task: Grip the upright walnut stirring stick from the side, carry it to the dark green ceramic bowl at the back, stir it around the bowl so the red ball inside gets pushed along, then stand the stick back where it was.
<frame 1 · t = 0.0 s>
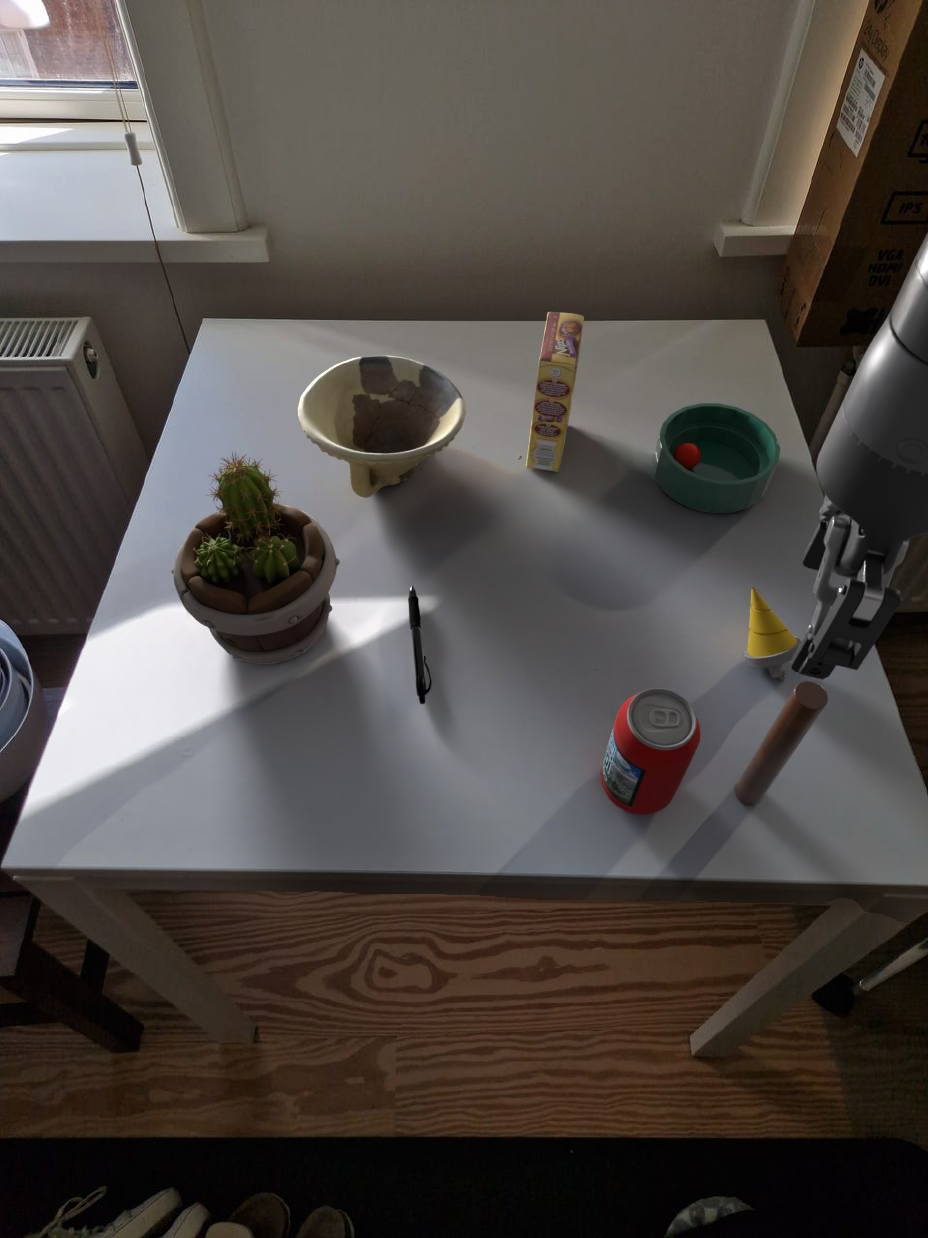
hand: (813, 616, 54), 27 cm above the table, tool pointing down, fingers open, 8 cm apart
beverage can: (636, 784, 76), on the table
candy box: (548, 446, 102), on the table
mixing bowl: (708, 474, 99), on the table
red ball: (686, 456, 98), point 2 cm above the table, touching mixing bowl
pen: (420, 646, 85), on the table
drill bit: (755, 660, 84), on the table
bowl: (388, 466, 100), on the table
flowerpot: (274, 625, 87), on the table
stirring stick: (747, 793, 76), on the table
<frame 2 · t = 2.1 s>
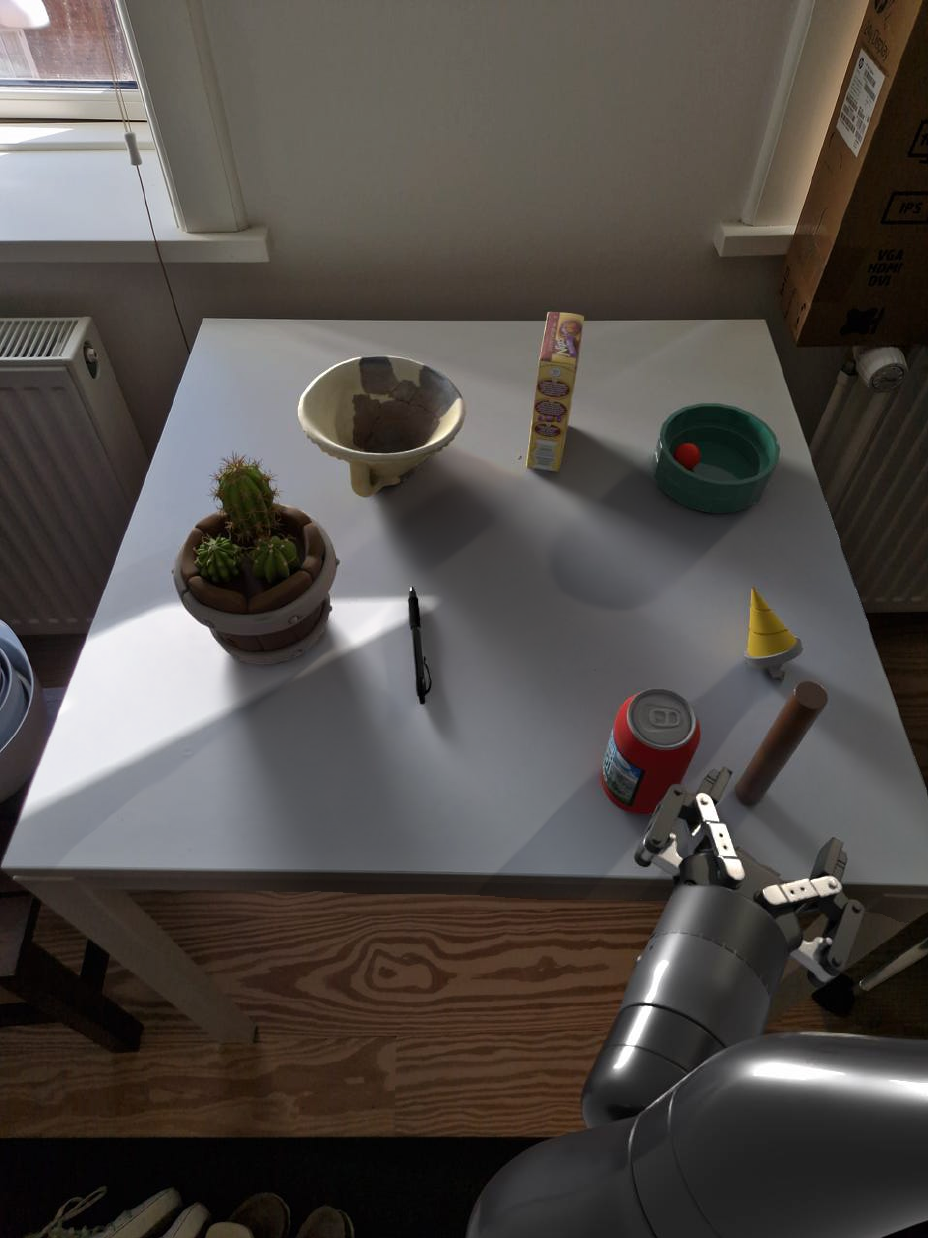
hand: (776, 809, 61), 13 cm above the table, tool tilted 75°, fingers open, 8 cm apart
nothing on the table moved.
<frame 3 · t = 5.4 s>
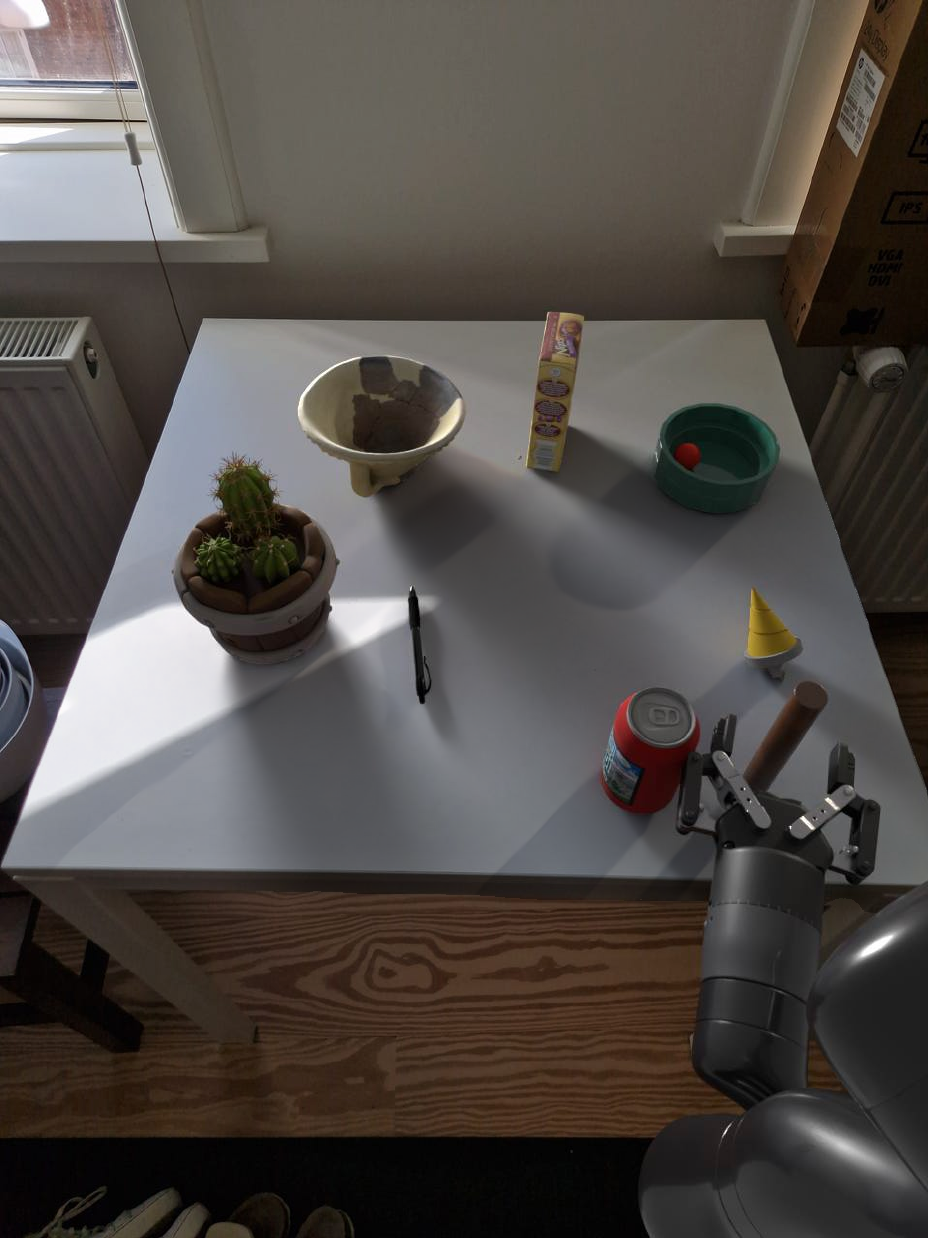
hand: (783, 732, 68), 10 cm above the table, tool horizontal, fingers open, 8 cm apart
beverage can: (636, 784, 76), on the table, touching gripper
everything else where it was.
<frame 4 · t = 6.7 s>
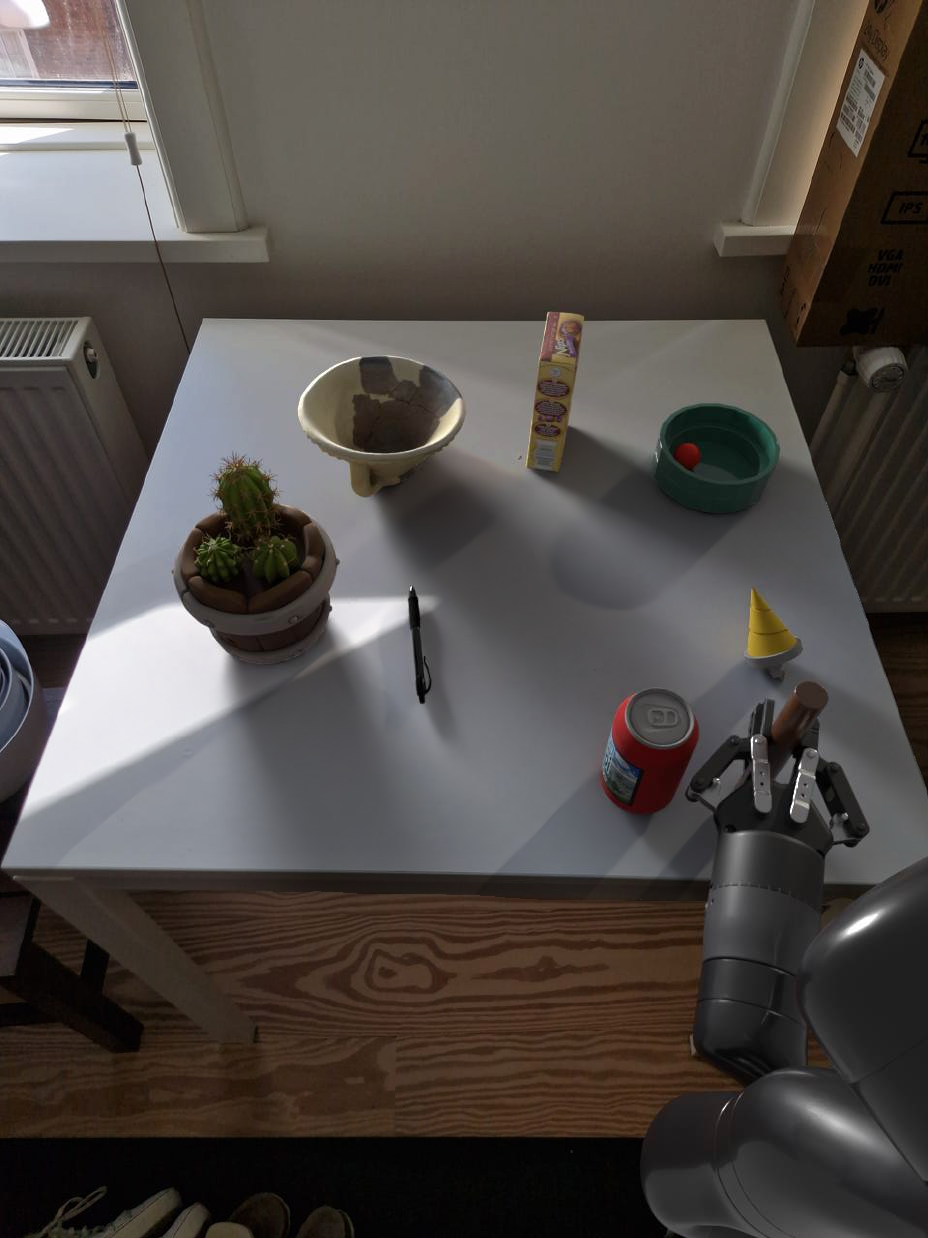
hand: (785, 709, 69), 10 cm above the table, tool horizontal, fingers closed on stirring stick, 2 cm apart
beverage can: (636, 784, 76), on the table
stirring stick: (747, 793, 76), on the table, touching gripper
everything else where it was.
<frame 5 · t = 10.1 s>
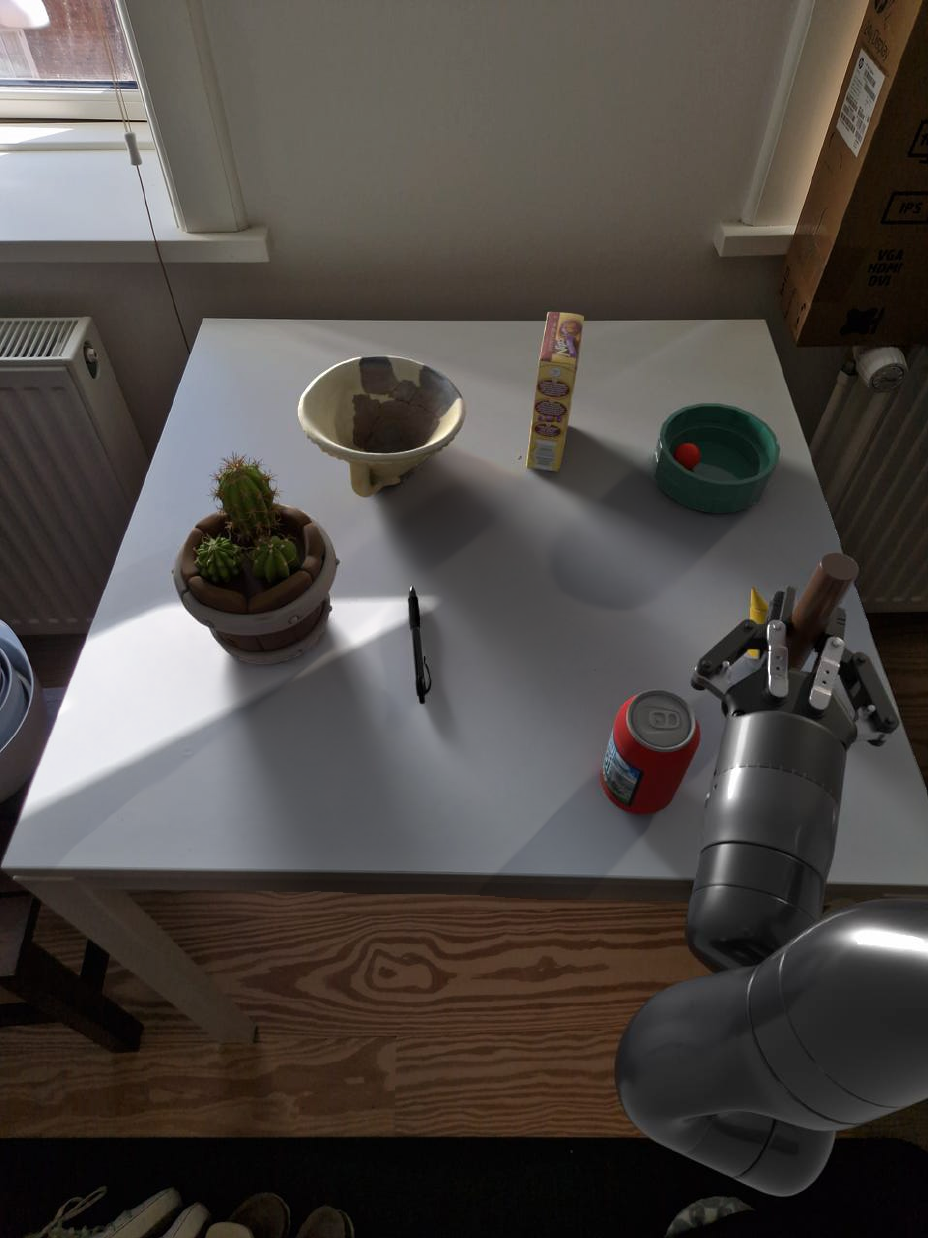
hand: (808, 600, 62), 21 cm above the table, tool horizontal, fingers closed on stirring stick, 2 cm apart
stirring stick: (762, 704, 68), point 11 cm above the table, touching gripper
everything else where it was.
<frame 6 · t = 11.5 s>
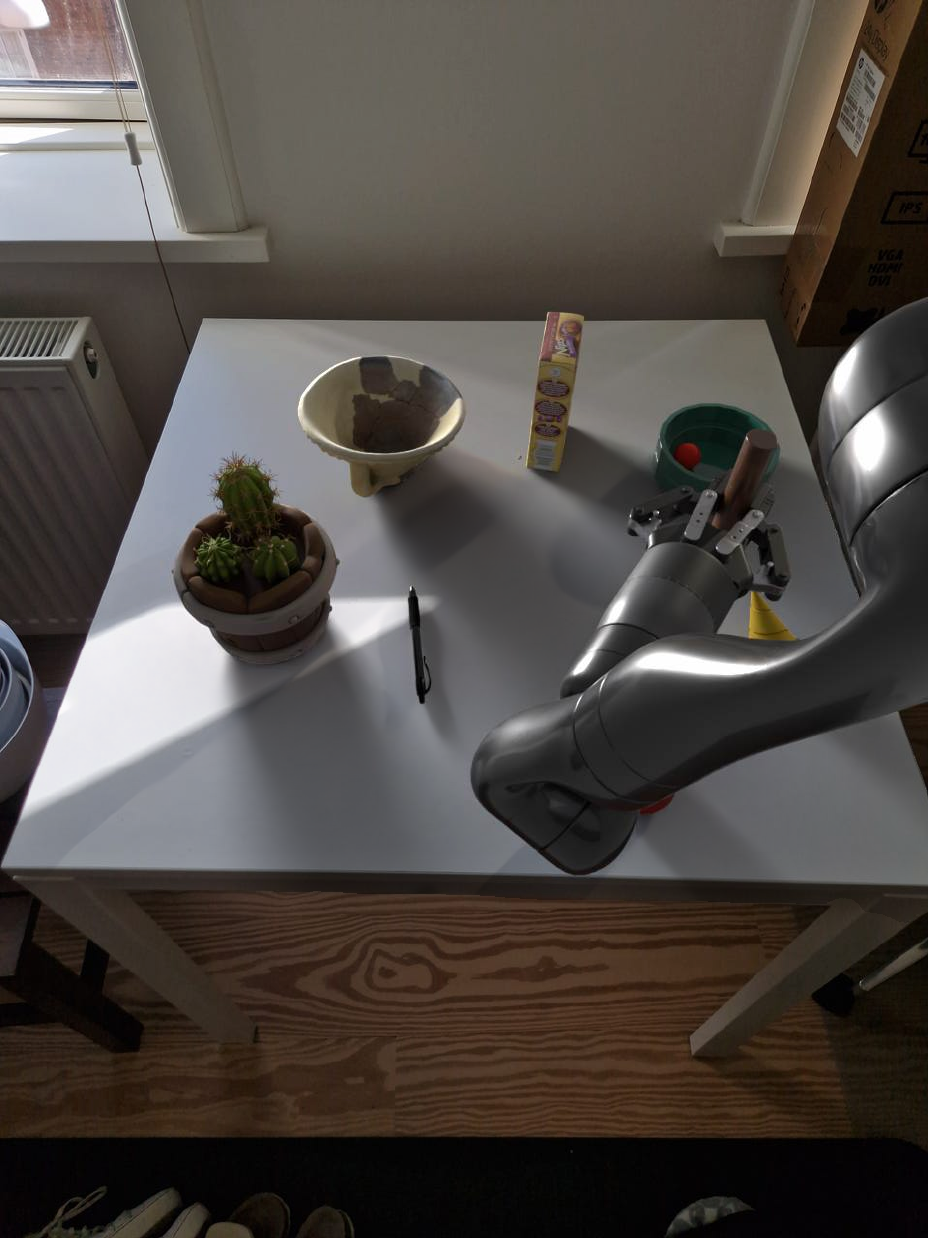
hand: (747, 485, 71), 19 cm above the table, tool horizontal, fingers closed on stirring stick, 2 cm apart
stirring stick: (702, 585, 77), point 10 cm above the table, touching gripper
everything else where it was.
when the fingers open (10 cm above the table, at t = 29.3 s): stirring stick stays where it is, on the table.
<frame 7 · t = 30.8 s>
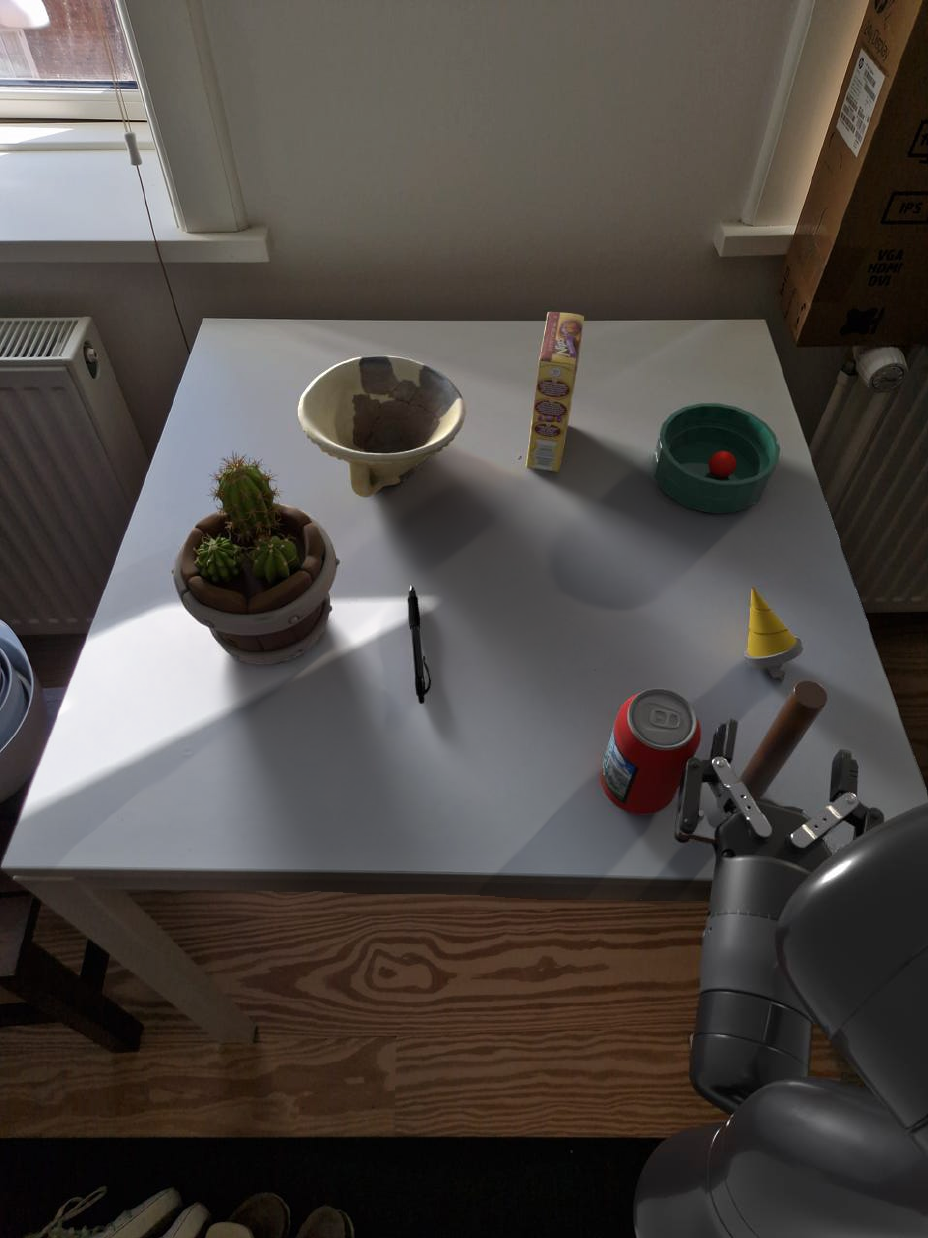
hand: (785, 739, 67), 11 cm above the table, tool horizontal, fingers open, 8 cm apart
red ball: (722, 464, 97), point 2 cm above the table, tilted 148°, touching mixing bowl
stirring stick: (747, 792, 76), on the table
everything else where it was.
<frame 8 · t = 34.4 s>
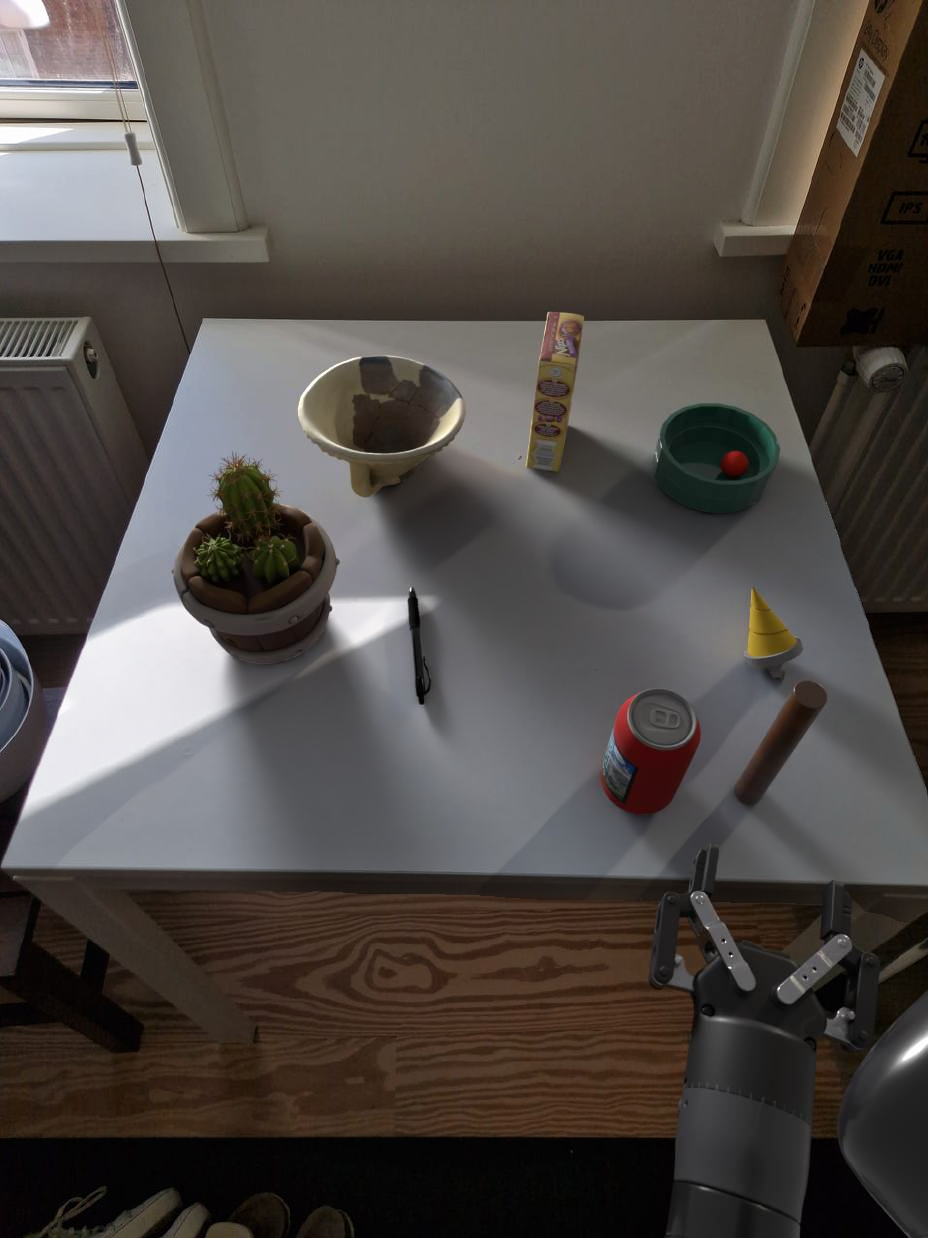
hand: (771, 866, 61), 11 cm above the table, tool horizontal, fingers open, 8 cm apart
red ball: (734, 464, 97), point 2 cm above the table, tilted 157°, touching mixing bowl
everything else where it was.
at the end: red ball moved 5.4 cm from its start; red ball inside the target area in the mixing bowl (2.4 cm from its centre), point 2.0 cm above the mixing bowl's base; stirring stick tilted 0° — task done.
